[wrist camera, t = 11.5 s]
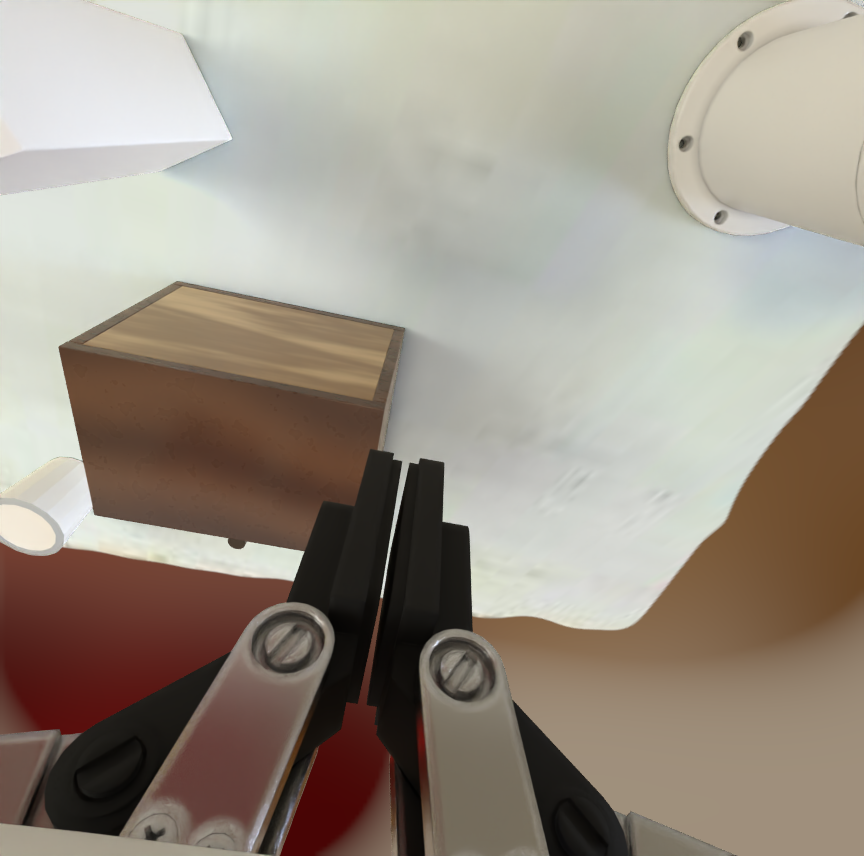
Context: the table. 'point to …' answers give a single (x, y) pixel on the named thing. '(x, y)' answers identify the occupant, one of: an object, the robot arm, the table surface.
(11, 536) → the shot glass
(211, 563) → the table surface
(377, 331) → the cabinet
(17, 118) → the milk
